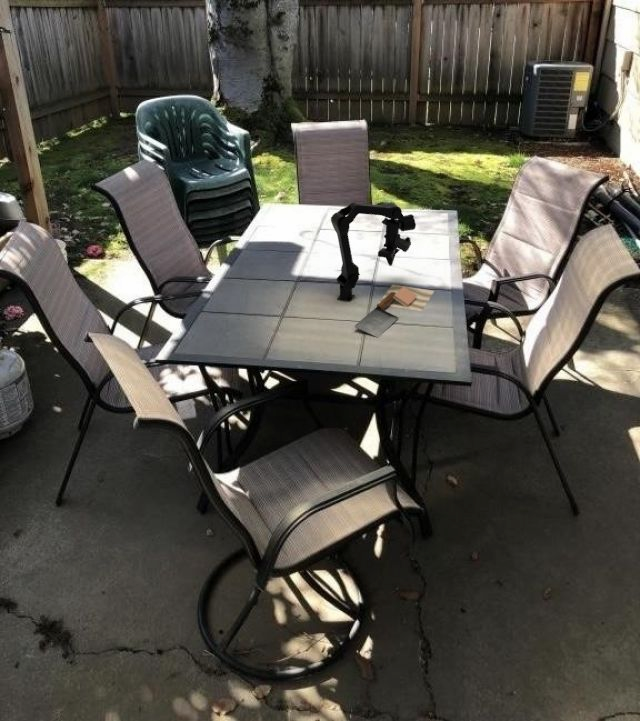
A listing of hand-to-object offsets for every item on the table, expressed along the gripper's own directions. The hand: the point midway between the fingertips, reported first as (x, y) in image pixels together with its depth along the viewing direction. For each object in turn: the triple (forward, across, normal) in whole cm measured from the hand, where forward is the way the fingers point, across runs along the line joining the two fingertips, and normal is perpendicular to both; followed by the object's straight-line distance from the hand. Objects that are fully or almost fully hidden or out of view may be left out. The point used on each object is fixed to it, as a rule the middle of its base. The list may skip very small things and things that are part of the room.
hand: (390, 265), depth 298 cm
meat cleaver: (+12, -28, -8) cm, 31 cm away
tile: (+8, -7, -12) cm, 16 cm away
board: (+12, -7, -11) cm, 17 cm away
